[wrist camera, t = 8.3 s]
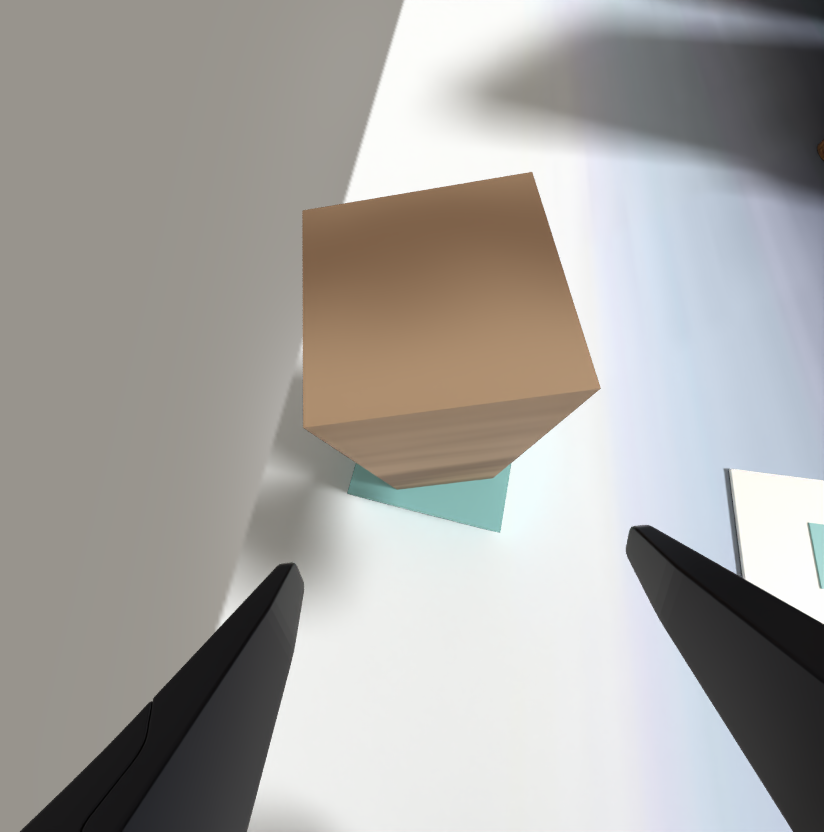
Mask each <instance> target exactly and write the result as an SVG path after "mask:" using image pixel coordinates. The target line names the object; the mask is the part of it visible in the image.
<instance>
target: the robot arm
mask: <svg viewBox="0 0 824 832" xmlns="http://www.w3.org/2000/svg"><path fill="white" fill-rule="evenodd" d="M626 554H627V557H628V559H629V561H630V563H631V565H632V567H633V569H634V571H635V573H636V575H637V577H638V579H639V581H640V583H641V585H642V587H643V589H644V591H645V593H646V595H647V597H648V599H649V601H650V603H651V604H652V606H653V608H654V610H655V612H656V614H657V616H658V618H659V619H660V621H661V623H662V624H663V626H664V628H665V629H666V631H667V632H668V634H669V636H670V637H671V639H672V640H673V642H674V644H675V645H676V647H677V648H678V650H679V651H680V653H681V655H682V656H683V658H684V659H685V661H686V663H687V664H688V666H689V667H690V669H691V671H692V672H693V674H694V675H695V677H696V678H697V680H698V682H699V683H700V685H701V686H702V688H703V690H704V691H705V693H706V694H707V696H708V698H709V699H710V701H711V702H712V704H713V705H714V707H715V709H716V710H717V712H718V713H719V715H720V717H721V718H722V720H723V721H724V723H725V724H726V726H727V728H728V729H729V731H730V732H731V734H732V736H733V737H734V739H735V740H736V742H737V744H738V745H739V747H740V748H741V750H742V751H743V753H744V755H745V756H746V758H747V759H748V761H749V763H750V764H751V766H752V767H753V769H754V771H755V772H756V774H757V775H758V777H759V778H760V780H761V782H762V783H763V785H764V786H765V788H766V790H767V791H768V793H769V794H770V796H771V798H772V799H773V801H774V802H775V804H776V805H777V807H778V809H779V810H780V812H781V813H782V815H783V817H784V818H785V820H786V821H787V823H788V824H789V826H790V828H791V829H792V831H793V832H824V624H823V623H821V622H819V621H817V620H816V619H814V618H812V617H810V616H809V615H807V614H805V613H803V612H802V611H800V610H798V609H796V608H795V607H793V606H791V605H789V604H788V603H786V602H784V601H782V600H781V599H779V598H777V597H775V596H773V595H772V594H770V593H768V592H766V591H765V590H763V589H761V588H759V587H758V586H756V585H754V584H752V583H751V582H749V581H747V580H745V579H744V578H742V577H740V576H738V575H736V574H735V573H733V572H731V571H729V570H728V569H726V568H724V567H722V566H721V565H719V564H717V563H715V562H714V561H712V560H710V559H708V558H707V557H705V556H703V555H701V554H699V553H698V552H696V551H694V550H692V549H691V548H689V547H687V546H685V545H684V544H682V543H680V542H678V541H677V540H675V539H673V538H671V537H670V536H668V535H666V534H664V533H663V532H661V531H659V530H657V529H655V528H654V527H652V526H649V525H639V526H633V527H631V528H630V530H629V535H628V540H627V545H626ZM303 594H304V582H303V579H302V577H301V575H300V572H299V570H298V568H297V565H296V564H295V563H283V564H280V565H278V566H277V567H276V568H275V569H274V570H273V571H272V572H271V573H270V574H269V575H268V577H267V578H266V579H265V580H264V581H263V582H262V583H261V584H260V585H259V586H258V587H257V588H256V589H255V590H254V591H253V592H252V594H251V595H250V596H249V597H248V598H247V599H246V600H245V601H244V602H243V603H242V604H241V605H240V606H239V607H238V608H237V610H236V611H235V612H234V613H233V614H232V615H231V616H230V617H229V618H228V619H227V620H226V621H225V622H224V623H223V624H222V626H221V627H220V628H219V629H218V630H217V631H216V632H215V633H214V634H213V635H212V636H211V637H210V638H209V639H208V641H207V642H206V643H205V644H204V645H203V646H202V647H201V648H200V649H199V650H198V651H197V652H196V653H195V654H194V655H193V656H192V657H191V659H190V660H189V661H188V662H187V663H186V664H185V665H184V666H183V667H182V668H181V670H179V671H178V673H176V675H175V676H174V677H173V678H172V679H171V680H170V681H169V682H168V683H167V684H166V685H165V686H164V687H163V688H162V689H161V691H160V692H159V693H158V694H157V695H156V696H155V697H154V698H153V701H151V702H149V703H148V704H147V705H146V706H145V707H144V708H143V710H142V711H141V712H140V713H139V714H138V715H137V716H136V717H135V718H134V719H133V720H132V721H131V722H130V723H129V724H128V726H126V727H125V729H124V730H123V731H122V732H121V733H120V734H119V735H118V736H117V737H116V738H115V739H114V740H113V741H112V742H111V743H110V744H109V745H108V746H107V747H106V748H105V749H104V750H103V751H102V752H101V753H100V754H99V755H98V756H97V757H96V758H95V759H94V760H93V761H92V762H91V763H90V764H89V765H88V766H87V767H86V768H85V769H84V770H83V771H82V772H81V773H80V774H79V775H78V776H77V777H76V778H75V779H74V780H73V781H72V782H71V783H70V784H69V785H68V786H67V787H66V788H65V789H64V790H63V791H62V792H60V793H59V795H57V796H56V797H55V798H54V799H53V800H52V801H51V802H50V803H49V804H48V805H47V806H46V807H45V808H44V809H43V810H42V811H41V812H40V813H39V814H38V815H37V816H36V817H35V818H34V819H32V820H31V821H30V822H29V823H28V824H27V825H26V826H25V827H24V828H23V829H22V830H21V831H20V832H247V829H248V825H249V822H250V818H251V814H252V810H253V806H254V803H255V799H256V795H257V791H258V787H259V783H260V780H261V776H262V772H263V768H264V764H265V761H266V757H267V753H268V749H269V745H270V742H271V738H272V734H273V730H274V726H275V722H276V719H277V715H278V711H279V707H280V703H281V700H282V696H283V692H284V688H285V684H286V680H287V677H288V673H289V669H290V665H291V661H292V657H293V653H294V648H295V643H296V637H297V631H298V624H299V618H300V612H301V606H302V600H303Z"/></svg>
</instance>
